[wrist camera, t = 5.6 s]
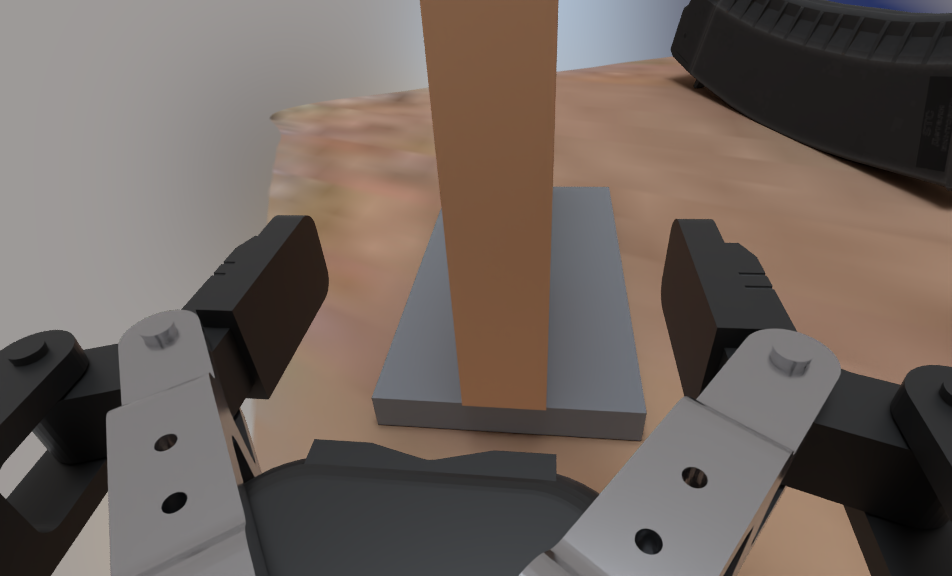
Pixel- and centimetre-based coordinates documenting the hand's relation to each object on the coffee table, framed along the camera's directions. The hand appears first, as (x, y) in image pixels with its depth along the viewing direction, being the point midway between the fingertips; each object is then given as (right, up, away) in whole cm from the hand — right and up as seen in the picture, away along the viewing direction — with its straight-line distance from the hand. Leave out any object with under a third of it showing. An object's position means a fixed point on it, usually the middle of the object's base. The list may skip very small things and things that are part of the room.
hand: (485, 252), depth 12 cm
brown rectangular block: (+1, -3, +10) cm, 11 cm away
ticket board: (+2, -1, +15) cm, 16 cm away
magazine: (+25, +12, +32) cm, 42 cm away
